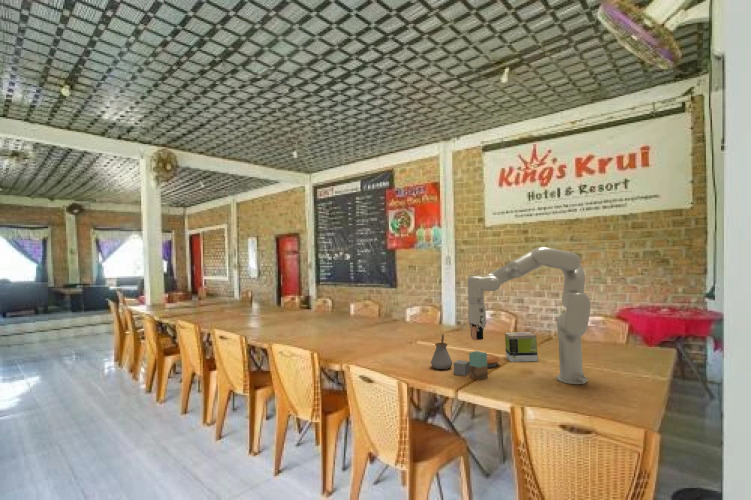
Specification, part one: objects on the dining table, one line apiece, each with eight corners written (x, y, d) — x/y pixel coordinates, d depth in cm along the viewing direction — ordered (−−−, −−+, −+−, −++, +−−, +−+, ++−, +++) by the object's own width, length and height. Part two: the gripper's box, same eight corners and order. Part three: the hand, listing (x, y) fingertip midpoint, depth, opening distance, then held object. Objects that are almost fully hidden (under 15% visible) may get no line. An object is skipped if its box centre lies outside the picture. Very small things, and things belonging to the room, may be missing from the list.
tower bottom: (487, 378, 183) (487, 365, 184) (477, 380, 181) (477, 367, 181) (479, 374, 189) (479, 362, 189) (470, 376, 186) (469, 364, 187)
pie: (464, 365, 207) (464, 356, 207) (481, 359, 217) (481, 350, 217) (489, 371, 195) (489, 361, 195) (505, 364, 205) (505, 355, 205)
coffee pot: (451, 371, 195) (450, 342, 196) (429, 370, 198) (428, 342, 199) (454, 360, 216) (453, 334, 216) (434, 359, 219) (433, 333, 219)
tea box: (532, 357, 218) (531, 331, 218) (538, 362, 208) (536, 335, 208) (505, 357, 219) (504, 331, 220) (509, 362, 209) (508, 335, 210)
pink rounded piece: (484, 339, 183) (483, 327, 184) (474, 340, 182) (474, 328, 182) (478, 337, 188) (478, 325, 188) (469, 338, 187) (469, 326, 187)
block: (469, 373, 192) (469, 361, 192) (465, 376, 187) (464, 364, 187) (458, 371, 196) (458, 359, 196) (453, 374, 191) (453, 362, 191)
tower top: (487, 365, 185) (486, 353, 185) (479, 367, 181) (479, 355, 181) (476, 362, 189) (476, 350, 189) (469, 365, 185) (469, 353, 185)
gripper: (492, 302, 178) (493, 341, 178) (474, 298, 195) (475, 334, 194) (477, 303, 176) (478, 342, 176) (460, 299, 193) (461, 335, 193)
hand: (476, 337), depth 185 cm, fingers closed on pink rounded piece, 5 cm apart
